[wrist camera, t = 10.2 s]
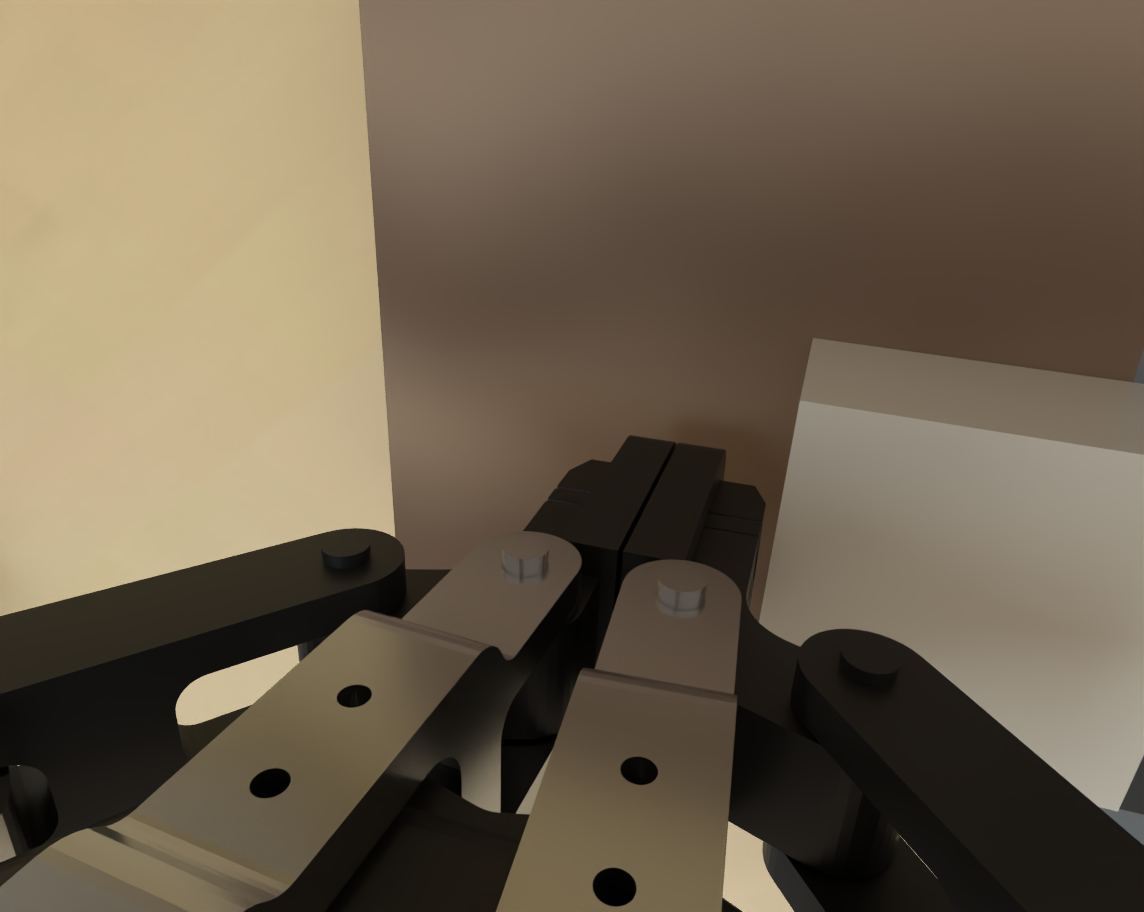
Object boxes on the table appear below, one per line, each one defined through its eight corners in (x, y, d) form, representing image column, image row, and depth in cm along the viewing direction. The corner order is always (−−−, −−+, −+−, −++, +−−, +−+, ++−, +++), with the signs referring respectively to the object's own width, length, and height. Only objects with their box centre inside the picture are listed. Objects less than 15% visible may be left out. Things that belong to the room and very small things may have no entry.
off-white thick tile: (813, 338, 13) (799, 400, 10) (1179, 388, 12) (1271, 475, 9) (763, 605, 15) (741, 714, 12) (1069, 674, 14) (1117, 811, 11)
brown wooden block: (458, -273, 15) (332, -386, 11) (1256, -347, 11) (1429, -539, 8) (476, 524, 21) (400, 609, 18) (986, 618, 18) (1015, 745, 14)
